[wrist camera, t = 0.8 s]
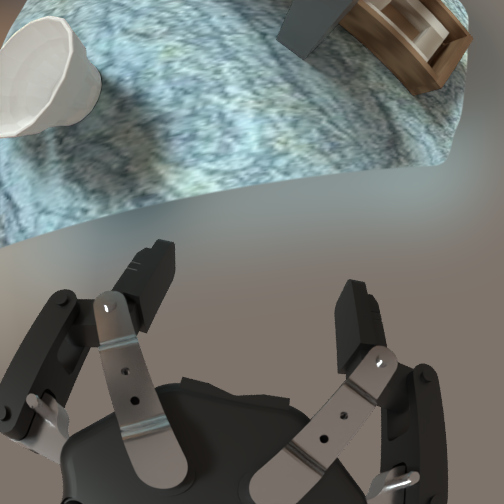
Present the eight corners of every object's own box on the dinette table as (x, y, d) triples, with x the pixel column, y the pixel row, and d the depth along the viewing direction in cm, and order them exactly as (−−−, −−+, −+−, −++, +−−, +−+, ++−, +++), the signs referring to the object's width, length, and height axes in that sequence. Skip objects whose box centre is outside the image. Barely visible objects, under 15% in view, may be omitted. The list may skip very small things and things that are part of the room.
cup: (50, 161, 27) (-8, 165, 17) (27, 87, 24) (-25, 73, 13) (131, 105, 27) (88, 80, 16) (101, 31, 23) (62, -6, 12)
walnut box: (321, 10, 25) (337, -12, 19) (372, -27, 22) (389, -45, 16) (413, 96, 28) (441, 88, 23) (448, 47, 26) (473, 38, 20)
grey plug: (273, 39, 26) (317, -58, 8) (296, 19, 25) (350, -72, 8) (303, 62, 27) (374, -20, 10) (325, 41, 26) (400, -37, 9)
